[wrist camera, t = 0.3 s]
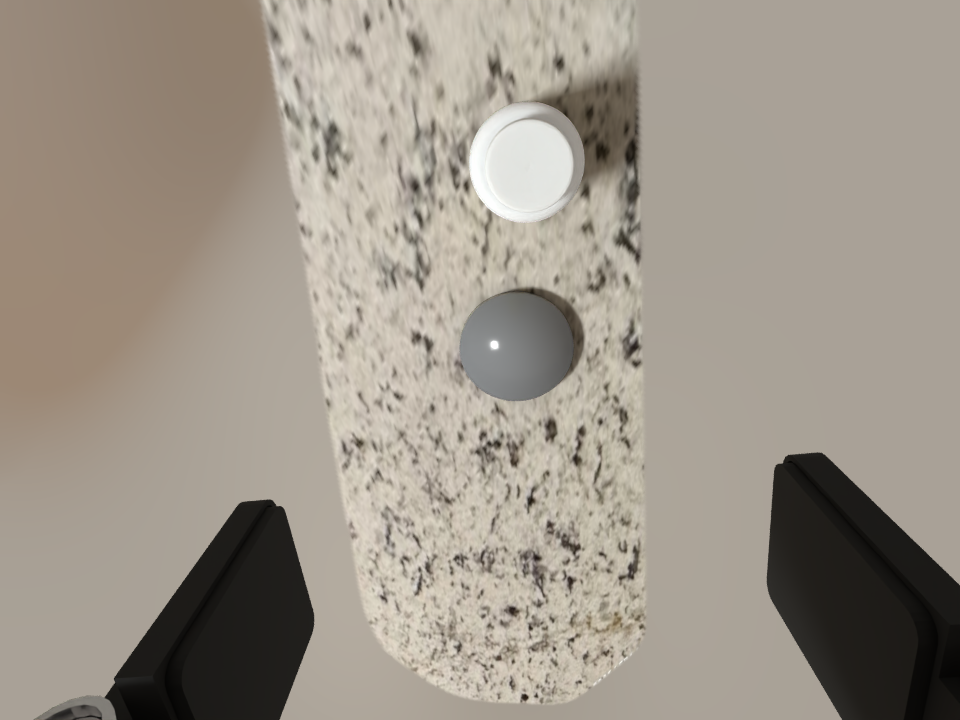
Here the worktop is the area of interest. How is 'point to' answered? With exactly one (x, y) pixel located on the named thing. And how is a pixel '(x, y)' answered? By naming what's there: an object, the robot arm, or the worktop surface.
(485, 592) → the worktop surface
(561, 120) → the supplement bottle
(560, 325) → the slate coaster
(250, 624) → the robot arm
